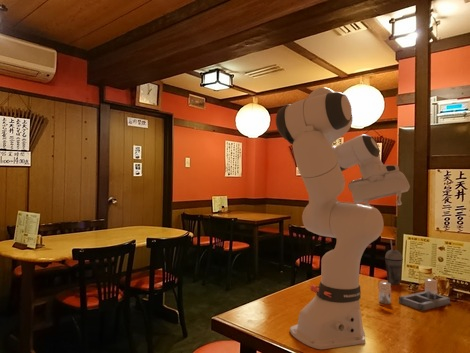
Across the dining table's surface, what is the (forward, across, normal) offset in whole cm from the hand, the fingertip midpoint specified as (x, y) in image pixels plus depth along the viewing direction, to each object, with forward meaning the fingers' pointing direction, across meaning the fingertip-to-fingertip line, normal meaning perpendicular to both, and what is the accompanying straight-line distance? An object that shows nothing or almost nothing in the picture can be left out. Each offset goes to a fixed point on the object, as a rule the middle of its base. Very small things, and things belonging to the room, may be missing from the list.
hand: (386, 207), depth 125 cm
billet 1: (+31, -10, +15) cm, 36 cm away
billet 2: (+32, +6, +22) cm, 39 cm away
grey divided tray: (+33, +4, +19) cm, 39 cm away
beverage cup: (+22, -3, +41) cm, 47 cm away
